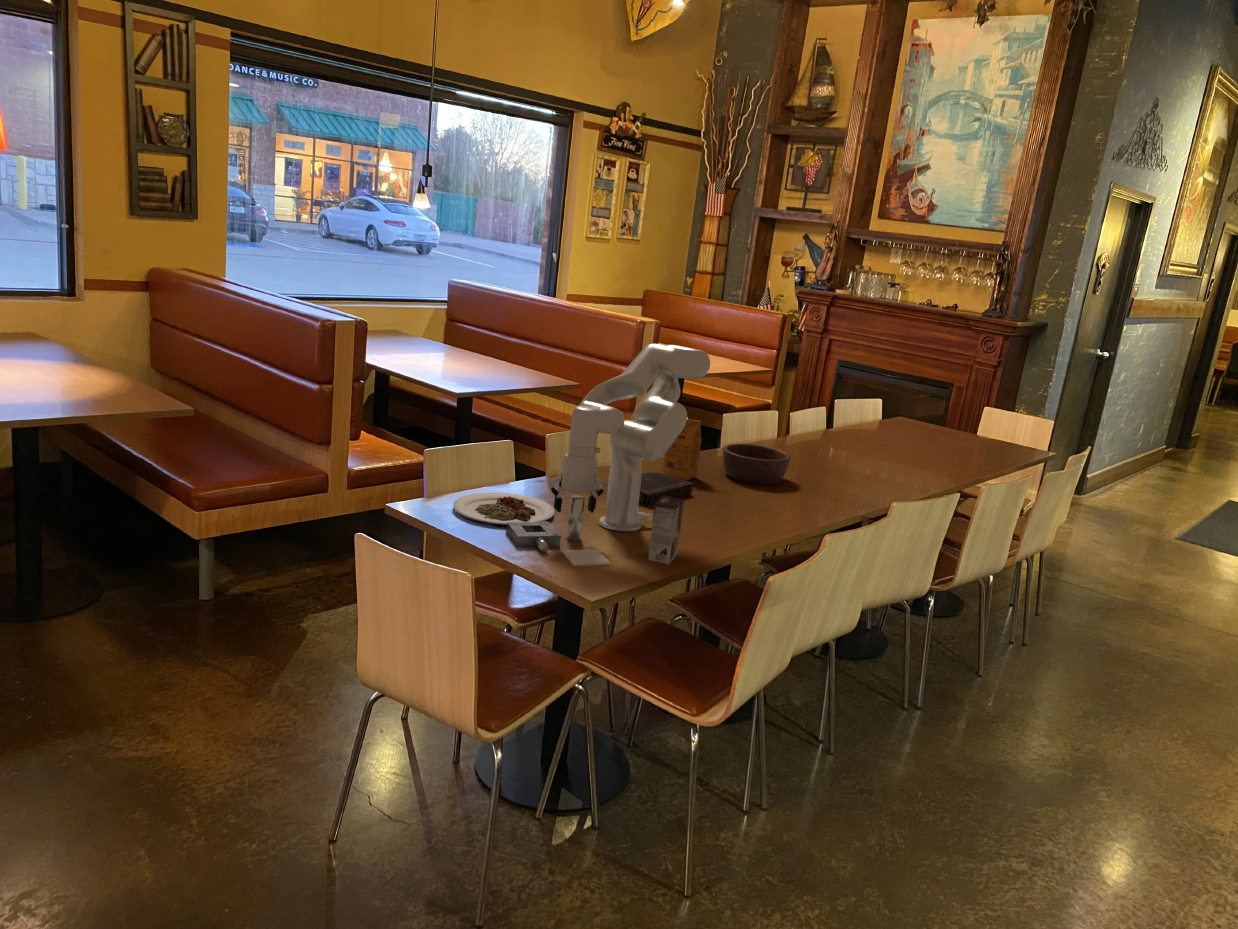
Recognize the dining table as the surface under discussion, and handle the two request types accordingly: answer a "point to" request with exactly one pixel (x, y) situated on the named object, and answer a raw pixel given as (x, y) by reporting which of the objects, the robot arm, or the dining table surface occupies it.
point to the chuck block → (533, 534)
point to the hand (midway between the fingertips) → (574, 511)
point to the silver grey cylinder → (575, 517)
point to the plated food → (503, 508)
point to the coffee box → (666, 529)
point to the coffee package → (684, 452)
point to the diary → (661, 488)
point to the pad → (585, 557)
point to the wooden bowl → (755, 463)
